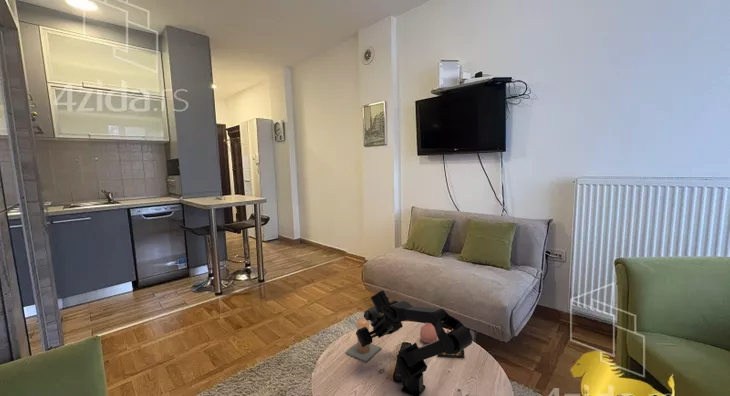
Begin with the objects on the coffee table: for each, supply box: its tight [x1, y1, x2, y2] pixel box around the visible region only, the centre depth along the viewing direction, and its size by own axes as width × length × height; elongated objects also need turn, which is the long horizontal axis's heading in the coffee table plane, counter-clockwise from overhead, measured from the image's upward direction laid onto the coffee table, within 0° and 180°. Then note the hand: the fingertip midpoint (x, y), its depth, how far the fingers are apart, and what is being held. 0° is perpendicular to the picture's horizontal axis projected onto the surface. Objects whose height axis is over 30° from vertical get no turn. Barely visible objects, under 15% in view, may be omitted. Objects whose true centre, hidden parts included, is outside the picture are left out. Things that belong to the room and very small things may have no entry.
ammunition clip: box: [436, 327, 466, 360], centre depth 123 cm, size 11×2×12 cm, turn 81°
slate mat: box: [345, 342, 382, 364], centre depth 129 cm, size 11×11×1 cm
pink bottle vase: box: [419, 322, 438, 344], centre depth 134 cm, size 8×8×12 cm
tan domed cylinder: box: [356, 317, 370, 354], centre depth 128 cm, size 5×5×13 cm
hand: (370, 338), depth 124 cm, fingers open, 9 cm apart
